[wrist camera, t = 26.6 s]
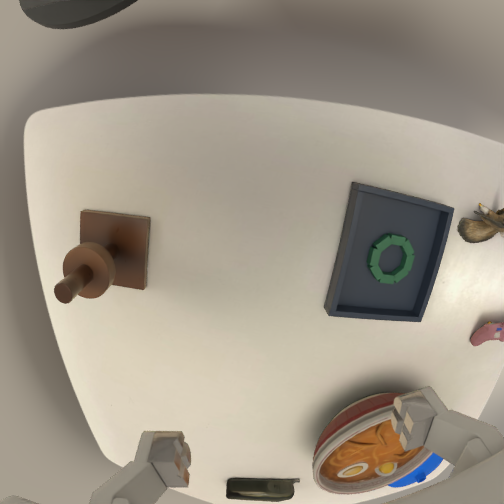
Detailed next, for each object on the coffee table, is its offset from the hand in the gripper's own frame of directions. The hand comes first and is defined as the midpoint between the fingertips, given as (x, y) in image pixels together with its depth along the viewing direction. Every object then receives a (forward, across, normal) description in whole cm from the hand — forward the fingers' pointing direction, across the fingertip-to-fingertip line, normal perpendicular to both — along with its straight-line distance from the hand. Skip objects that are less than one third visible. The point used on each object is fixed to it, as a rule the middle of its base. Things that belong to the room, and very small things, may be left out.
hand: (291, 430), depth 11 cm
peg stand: (+29, +18, -1) cm, 34 cm away
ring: (+29, -17, +5) cm, 34 cm away
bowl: (+29, -16, +36) cm, 49 cm away
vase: (+29, -29, +57) cm, 70 cm away
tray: (+29, -17, +5) cm, 34 cm away
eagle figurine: (+29, -34, +2) cm, 45 cm away
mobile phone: (+29, +5, +51) cm, 59 cm away
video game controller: (+29, -40, +22) cm, 55 cm away
